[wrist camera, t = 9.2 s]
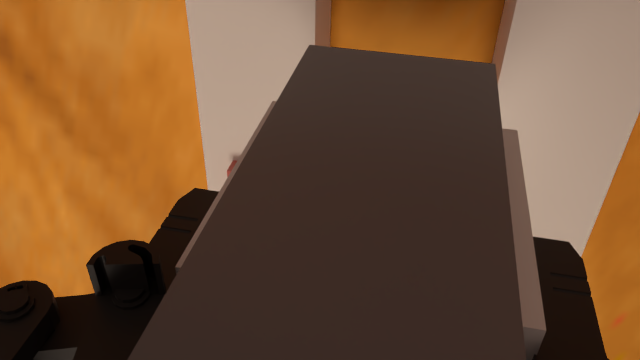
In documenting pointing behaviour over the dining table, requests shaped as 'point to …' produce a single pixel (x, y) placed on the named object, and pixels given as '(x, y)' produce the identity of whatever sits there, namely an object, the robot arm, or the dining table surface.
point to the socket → (512, 78)
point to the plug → (358, 225)
